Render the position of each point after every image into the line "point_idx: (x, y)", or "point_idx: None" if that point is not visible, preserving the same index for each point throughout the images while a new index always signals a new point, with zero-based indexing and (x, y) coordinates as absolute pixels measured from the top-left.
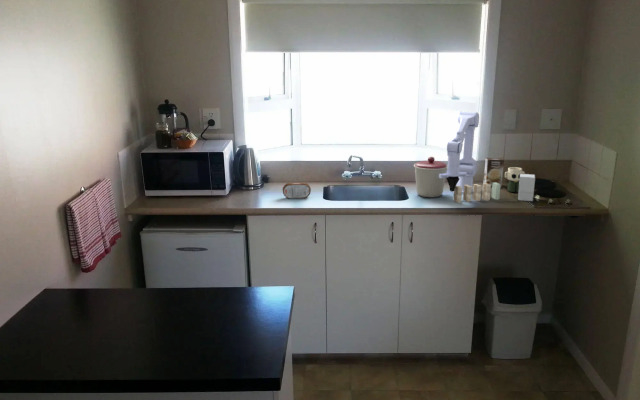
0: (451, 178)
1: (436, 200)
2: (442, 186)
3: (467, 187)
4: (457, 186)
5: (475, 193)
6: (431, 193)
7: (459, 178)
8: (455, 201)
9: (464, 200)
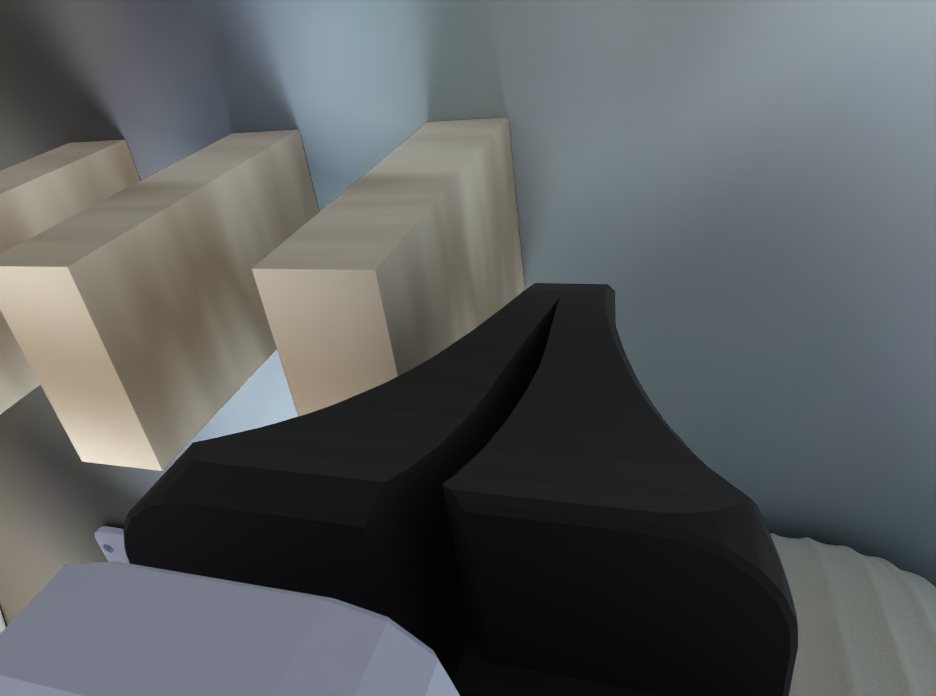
0: (596, 689)
1: (855, 393)
2: None
3: (104, 292)
4: None
5: None
6: (897, 597)
7: (134, 508)
8: (515, 209)
9: None
